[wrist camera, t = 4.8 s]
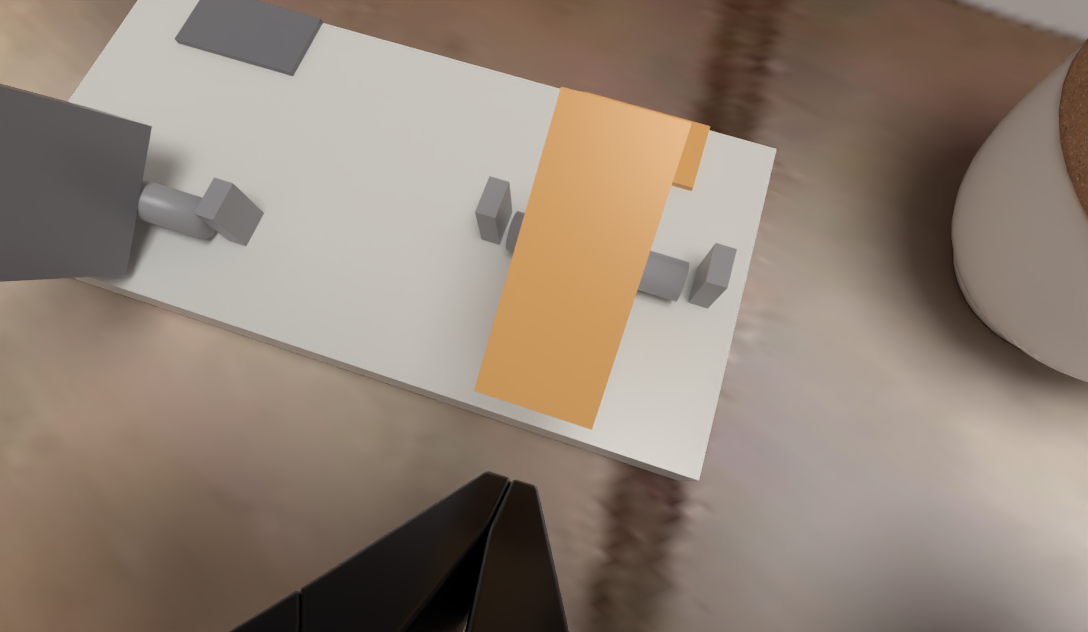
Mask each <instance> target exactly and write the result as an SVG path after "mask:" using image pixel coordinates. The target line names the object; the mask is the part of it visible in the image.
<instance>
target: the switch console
mask: <svg viewBox="0 0 1088 632" xmlns="http://www.w3.org/2000/svg"><path fill="white" fill-rule="evenodd" d="M559 92H560V89H559V88H555V87H551V86H548V85H544V84H541V83H537V82H533V81H530V80H526V79H523V78H519V77H515V76H512V75H508V74H505V73H501V72H497V71H494V70H490V69H487V68H483V67H479V66H476V65H472V64H469V63H465V62H461V61H458V60H454V59H451V58H447V57H443V56H440V55H436V54H433V53H429V52H425V51H422V50H418V49H415V48H411V47H407V46H404V45H400V44H397V43H393V42H389V41H386V40H382V39H379V38H375V37H371V36H368V35H364V34H361V33H357V32H353V31H350V30H346V29H343V28H339V27H335V26H332V25H328V24H325V23H323V22H322V20H321V18H317V17H314V16H310V15H306V14H303V13H299V12H296V11H292V10H288V9H285V8H281V7H278V6H274V5H270V4H267V3H263V2H259V1H256V0H138V1H137V2H136V4H135V5H134V7H133V8H132V9H131V11H130V12H129V14H128V15H127V17H126V18H125V20H124V21H123V23H122V24H121V25H120V27H119V28H118V30H117V31H116V33H115V34H114V36H113V37H112V38H111V40H110V41H109V43H108V44H107V46H106V47H105V49H104V50H103V51H102V53H101V54H100V56H99V57H98V59H97V60H96V62H95V63H94V64H93V66H92V67H91V69H90V70H89V72H88V73H87V75H86V76H85V78H84V79H83V80H82V82H81V83H80V85H79V86H78V88H77V89H76V91H75V92H74V93H73V95H72V96H71V98H70V99H69V101H68V102H70V103H74V104H78V105H81V106H85V107H89V108H93V109H96V110H100V111H103V112H106V113H109V114H113V115H116V116H119V117H123V118H126V119H129V120H133V121H136V122H139V123H142V124H146V125H149V126H152V129H151V135H150V140H149V146H148V152H147V158H146V163H145V169H144V175H143V179H145V180H148V181H151V182H154V183H158V184H161V185H164V186H167V187H170V188H174V189H177V190H180V191H183V192H186V193H190V194H193V195H196V196H199V197H202V200H201V201H200V203H199V205H198V207H197V208H196V210H195V212H194V214H195V215H196V216H197V217H198V218H200V219H201V220H202V221H204V222H205V223H206V224H208V225H209V226H210V227H211V228H213V229H214V230H215V231H216V232H215V234H214V235H212V236H211V237H210V238H207V239H199V238H196V237H192V236H189V235H186V234H183V233H180V232H177V231H174V230H171V229H167V228H164V227H161V226H158V225H155V224H152V223H149V222H146V221H143V220H139V219H136V221H135V226H134V232H133V238H132V244H131V249H130V255H129V261H128V266H127V272H126V275H112V276H94V277H75V278H73V279H76V280H79V281H82V282H85V283H88V284H91V285H94V286H97V287H100V288H103V289H106V290H109V291H112V292H115V293H118V294H121V295H124V296H127V297H130V298H133V299H136V300H139V301H142V302H145V303H148V304H151V305H154V306H157V307H160V308H163V309H166V310H169V311H172V312H175V313H178V314H181V315H184V316H187V317H190V318H193V319H196V320H199V321H202V322H205V323H208V324H211V325H214V326H217V327H220V328H223V329H226V330H229V331H232V332H235V333H238V334H241V335H244V336H247V337H250V338H253V339H256V340H259V341H262V342H265V343H268V344H271V345H274V346H276V347H279V348H282V349H285V350H288V351H291V352H294V353H297V354H300V355H303V356H306V357H309V358H312V359H315V360H318V361H321V362H324V363H327V364H330V365H333V366H336V367H339V368H342V369H345V370H348V371H351V372H354V373H357V374H360V375H363V376H366V377H369V378H372V379H375V380H378V381H381V382H384V383H387V384H390V385H393V386H396V387H399V388H402V389H405V390H408V391H411V392H414V393H417V394H420V395H423V396H426V397H429V398H432V399H435V400H438V401H441V402H444V403H447V404H450V405H453V406H456V407H459V408H462V409H465V410H468V411H471V412H474V413H477V414H480V415H483V416H486V417H489V418H492V419H495V420H498V421H501V422H504V423H507V424H510V425H513V426H516V427H519V428H522V429H525V430H528V431H531V432H534V433H537V434H540V435H543V436H546V437H549V438H552V439H554V440H557V441H560V442H563V443H566V444H569V445H572V446H575V447H578V448H581V449H584V450H587V451H590V452H593V453H596V454H599V455H602V456H605V457H608V458H611V459H614V460H617V461H620V462H623V463H626V464H629V465H632V466H635V467H638V468H641V469H644V470H647V471H650V472H653V473H656V474H659V475H662V476H665V477H668V478H671V479H674V480H677V481H699V478H700V474H701V470H702V466H703V461H704V457H705V453H706V448H707V444H708V440H709V436H710V431H711V427H712V423H713V419H714V414H715V410H716V406H717V401H718V397H719V393H720V389H721V384H722V380H723V376H724V372H725V367H726V363H727V359H728V354H729V350H730V346H731V342H732V337H733V333H734V329H735V325H736V320H737V316H738V312H739V307H740V303H741V299H742V295H743V290H744V286H745V282H746V277H747V273H748V269H749V265H750V260H751V256H752V252H753V248H754V243H755V239H756V235H757V230H758V226H759V222H760V218H761V213H762V209H763V205H764V201H765V196H766V192H767V188H768V183H769V179H770V175H771V171H772V166H773V162H774V158H775V153H776V149H775V148H771V147H768V146H764V145H760V144H757V143H753V142H750V141H746V140H742V139H739V138H735V137H732V136H728V135H724V134H721V133H717V132H714V131H710V130H709V129H710V126H707V125H704V124H700V123H696V122H693V121H689V120H686V119H682V118H678V117H675V116H671V115H668V114H664V113H660V112H657V111H653V110H649V109H646V108H642V107H639V106H635V105H631V104H628V103H624V102H621V101H617V100H613V99H610V98H606V97H603V96H599V95H595V94H592V93H588V92H584V91H582V93H586V94H590V95H593V96H597V97H600V98H604V99H608V100H611V101H615V102H618V103H622V104H626V105H629V106H633V107H636V108H640V109H644V110H647V111H651V112H654V113H658V114H662V115H665V116H669V117H673V118H676V119H680V120H683V121H687V122H691V123H692V124H691V128H690V131H689V134H688V137H687V140H686V143H685V146H684V149H683V152H682V155H681V158H680V161H679V164H678V167H677V170H676V174H675V177H674V180H673V183H672V186H671V189H670V192H669V195H668V198H667V201H666V204H665V207H664V210H663V213H662V216H661V220H660V223H659V226H658V229H657V232H656V235H655V238H654V241H653V244H652V247H651V250H650V251H654V252H657V253H661V254H664V255H667V256H671V257H674V258H677V259H681V260H684V261H687V262H689V263H690V265H689V271H688V275H687V278H686V281H685V284H684V287H683V290H682V292H681V295H680V297H679V299H678V300H677V301H676V302H675V301H672V300H669V299H665V298H662V297H659V296H656V295H652V294H649V293H646V292H643V291H639V290H637V293H636V296H635V299H634V302H633V305H632V308H631V312H630V315H629V318H628V321H627V324H626V327H625V330H624V333H623V336H622V339H621V342H620V345H619V348H618V351H617V354H616V358H615V361H614V364H613V367H612V370H611V373H610V376H609V379H608V382H607V385H606V388H605V391H604V394H603V397H602V400H601V404H600V407H599V410H598V413H597V416H596V419H595V422H594V425H593V428H592V430H591V429H588V428H585V427H582V426H579V425H576V424H573V423H570V422H567V421H564V420H561V419H558V418H555V417H552V416H549V415H546V414H543V413H540V412H536V411H533V410H530V409H527V408H524V407H521V406H518V405H515V404H512V403H509V402H506V401H503V400H500V399H497V398H494V397H491V396H488V395H485V394H482V393H479V392H476V391H474V389H475V386H476V382H477V379H478V375H479V372H480V368H481V365H482V361H483V358H484V354H485V351H486V347H487V344H488V340H489V337H490V333H491V330H492V326H493V323H494V319H495V316H496V312H497V309H498V305H499V302H500V298H501V295H502V291H503V288H504V284H505V281H506V277H507V274H508V270H509V267H510V263H511V260H512V256H513V253H514V252H512V251H509V250H506V240H507V235H508V231H509V228H510V224H511V222H512V219H513V217H514V215H515V213H516V212H517V211H520V212H524V213H525V211H526V208H527V204H528V201H529V197H530V194H531V190H532V187H533V183H534V180H535V176H536V173H537V169H538V166H539V162H540V159H541V155H542V152H543V148H544V145H545V141H546V138H547V134H548V131H549V127H550V124H551V120H552V117H553V113H554V110H555V106H556V103H557V99H558V96H559Z"/></svg>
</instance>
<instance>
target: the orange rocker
mask: <svg viewBox="0 0 1088 632" xmlns="http://www.w3.org/2000/svg"><path fill="white" fill-rule="evenodd" d="M691 124H692V123H691V122H687V121H683V120H680V119H676V118H673V117H669V116H665V115H662V114H658V113H654V112H651V111H647V110H644V109H640V108H636V107H633V106H629V105H626V104H622V103H618V102H615V101H611V100H608V99H604V98H600V97H597V96H593V95H590V94H586V93H582V92H579V91H575V90H572V89H568V88H564V87H561V89H560V92H559V96H558V99H557V103H556V106H555V110H554V113H553V117H552V120H551V124H550V127H549V131H548V134H547V138H546V141H545V145H544V148H543V152H542V155H541V159H540V162H539V166H538V169H537V173H536V176H535V180H534V183H533V187H532V190H531V194H530V197H529V201H528V204H527V208H526V211H525V213H524V212H520V211H517V212H516V213H515V215H514V217H513V219H512V222H511V224H510V228H509V231H508V235H507V240H506V250H509V251H512V252H514V253H513V256H512V260H511V263H510V267H509V270H508V274H507V277H506V281H505V284H504V288H503V291H502V295H501V298H500V302H499V305H498V309H497V312H496V316H495V319H494V323H493V326H492V330H491V333H490V337H489V340H488V344H487V347H486V351H485V354H484V358H483V361H482V365H481V368H480V372H479V375H478V379H477V382H476V386H475V389H474V391H476V392H479V393H482V394H485V395H488V396H491V397H494V398H497V399H500V400H503V401H506V402H509V403H512V404H515V405H518V406H521V407H524V408H527V409H530V410H533V411H536V412H540V413H543V414H546V415H549V416H552V417H555V418H558V419H561V420H564V421H567V422H570V423H573V424H576V425H579V426H582V427H585V428H588V429H591V430H592V428H593V425H594V422H595V419H596V416H597V413H598V410H599V407H600V404H601V400H602V397H603V394H604V391H605V388H606V385H607V382H608V379H609V376H610V373H611V370H612V367H613V364H614V361H615V358H616V354H617V351H618V348H619V345H620V342H621V339H622V336H623V333H624V330H625V327H626V324H627V321H628V318H629V315H630V312H631V308H632V305H633V302H634V299H635V296H636V293H637V290H639V291H643V292H646V293H649V294H652V295H656V296H659V297H662V298H665V299H669V300H672V301H675V302H676V301H677V300H678V299H679V297H680V295H681V292H682V290H683V287H684V284H685V281H686V278H687V275H688V271H689V265H690V263H689V262H687V261H684V260H681V259H677V258H674V257H671V256H667V255H664V254H661V253H657V252H654V251H650V250H651V247H652V244H653V241H654V238H655V235H656V232H657V229H658V226H659V223H660V220H661V216H662V213H663V210H664V207H665V204H666V201H667V198H668V195H669V192H670V189H671V186H672V183H673V180H674V177H675V174H676V170H677V167H678V164H679V161H680V158H681V155H682V152H683V149H684V146H685V143H686V140H687V137H688V134H689V131H690V128H691Z"/></svg>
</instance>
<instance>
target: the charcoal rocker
mask: <svg viewBox="0 0 1088 632" xmlns="http://www.w3.org/2000/svg"><path fill="white" fill-rule="evenodd" d="M151 129H152V126H149V125H146V124H142V123H139V122H136V121H133V120H129V119H126V118H123V117H119V116H116V115H113V114H109V113H106V112H103V111H100V110H96V109H93V108H89V107H85V106H81V105H78V104H74V103H70V102H67V101H63V100H59V99H55V98H52V97H48V96H44V95H41V94H37V93H33V92H29V91H26V90H22V89H18V88H15V87H11V86H7V85H3V84H0V282H1V281H19V280H38V279H57V278H75V277H94V276H112V275H126V272H127V266H128V261H129V255H130V249H131V244H132V238H133V232H134V226H135V221H136V219H139V220H143V221H146V222H149V223H152V224H155V225H158V226H161V227H164V228H167V229H171V230H174V231H177V232H180V233H183V234H186V235H189V236H192V237H196V238H199V239H207V238H210V237H211V236H212V235H214V234H215V232H216V231H215V230H214V229H213V228H211V227H210V226H209V225H208V224H206V223H205V222H204V221H202V220H201V219H200V218H198V217H197V216H196V215H195V214H194V212H195V210H196V208H197V207H198V205H199V203H200V201H201V200H202V197H199V196H196V195H193V194H190V193H186V192H183V191H180V190H177V189H174V188H170V187H167V186H164V185H161V184H158V183H154V182H151V181H148V180H145V179H143V175H144V169H145V163H146V158H147V152H148V146H149V140H150V135H151Z"/></svg>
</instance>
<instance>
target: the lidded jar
mask: <svg viewBox="0 0 1088 632" xmlns="http://www.w3.org/2000/svg"><path fill="white" fill-rule="evenodd" d="M952 244H953V265H954V271H955V276H956V279H957V282H958V285H959V288H960V290H961V292H962V294H963V296H964V298H965V300H966V301H967V303H968V304H969V306H970V307H971V309H972V310H973V312H974V313H975V314H976V315H977V316H978V317H979V318H980V320H981V321H982V322H983V323H984V324H985V325H986V326H987V327H989V328H990V329H991V330H992V331H993V332H994V333H995V334H997V335H998V336H1000V337H1001V338H1003V339H1004V340H1006V341H1007V342H1009V343H1011V344H1013V345H1015V346H1017V347H1018V348H1019V349H1021V350H1022V351H1024V352H1025V353H1027V354H1028V355H1030V356H1031V357H1033V358H1034V359H1036V360H1037V361H1039V362H1041V363H1043V364H1045V365H1047V366H1049V367H1051V368H1053V369H1055V370H1057V371H1059V372H1062V373H1064V374H1067V375H1069V376H1072V377H1074V378H1077V379H1080V380H1082V381H1085V382H1088V39H1087V40H1086V41H1085V43H1084V44H1083V46H1082V47H1081V48H1080V49H1078V50H1077V51H1076V52H1075V53H1073V54H1072V55H1071V56H1070V57H1068V58H1067V59H1066V60H1065V61H1064V62H1063V63H1061V64H1060V65H1059V66H1058V67H1057V68H1056V69H1054V70H1053V71H1052V72H1051V73H1050V74H1049V75H1047V76H1046V77H1045V78H1044V79H1043V80H1042V81H1041V82H1040V83H1038V84H1037V85H1036V86H1035V87H1034V88H1033V89H1032V90H1031V91H1030V92H1029V93H1028V94H1027V95H1026V96H1025V97H1024V98H1023V99H1022V100H1021V101H1020V102H1019V103H1018V104H1017V105H1016V106H1015V107H1014V108H1013V109H1012V110H1011V111H1010V112H1009V113H1008V114H1007V115H1006V116H1005V117H1004V118H1003V119H1002V120H1001V122H1000V123H999V124H998V125H997V127H996V128H995V129H994V130H993V132H992V133H991V134H990V136H989V137H988V138H987V139H986V141H985V142H984V143H983V145H982V146H981V148H980V149H979V150H978V152H977V153H976V155H975V156H974V158H973V160H972V162H971V164H970V166H969V168H968V170H967V172H966V174H965V176H964V178H963V180H962V183H961V185H960V187H959V190H958V194H957V198H956V203H955V208H954V212H953V217H952Z"/></svg>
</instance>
